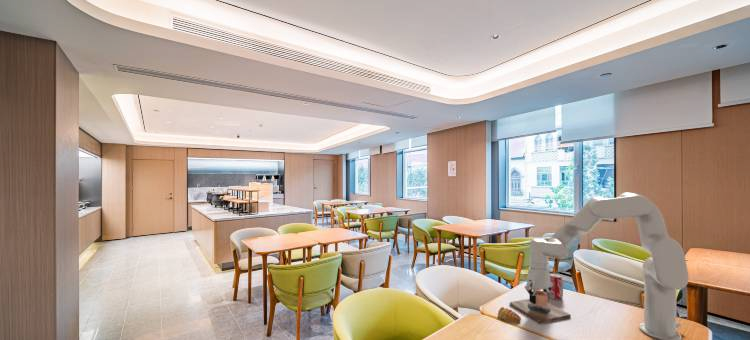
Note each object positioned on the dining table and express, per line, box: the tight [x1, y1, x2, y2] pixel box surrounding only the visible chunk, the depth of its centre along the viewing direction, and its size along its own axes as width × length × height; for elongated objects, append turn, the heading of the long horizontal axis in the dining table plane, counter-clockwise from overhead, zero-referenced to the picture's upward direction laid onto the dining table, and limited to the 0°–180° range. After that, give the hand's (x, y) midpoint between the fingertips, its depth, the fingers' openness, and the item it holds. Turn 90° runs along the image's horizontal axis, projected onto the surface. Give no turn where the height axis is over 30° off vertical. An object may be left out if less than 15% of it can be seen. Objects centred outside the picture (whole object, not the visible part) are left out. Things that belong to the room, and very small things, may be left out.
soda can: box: [548, 272, 564, 300], centre depth 153 cm, size 7×7×12 cm
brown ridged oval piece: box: [497, 306, 522, 324], centre depth 132 cm, size 9×7×4 cm
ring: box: [532, 289, 549, 307], centre depth 138 cm, size 7×7×5 cm
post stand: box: [509, 298, 572, 325], centre depth 139 cm, size 18×18×6 cm
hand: (538, 301), depth 138 cm, fingers closed on ring, 7 cm apart
